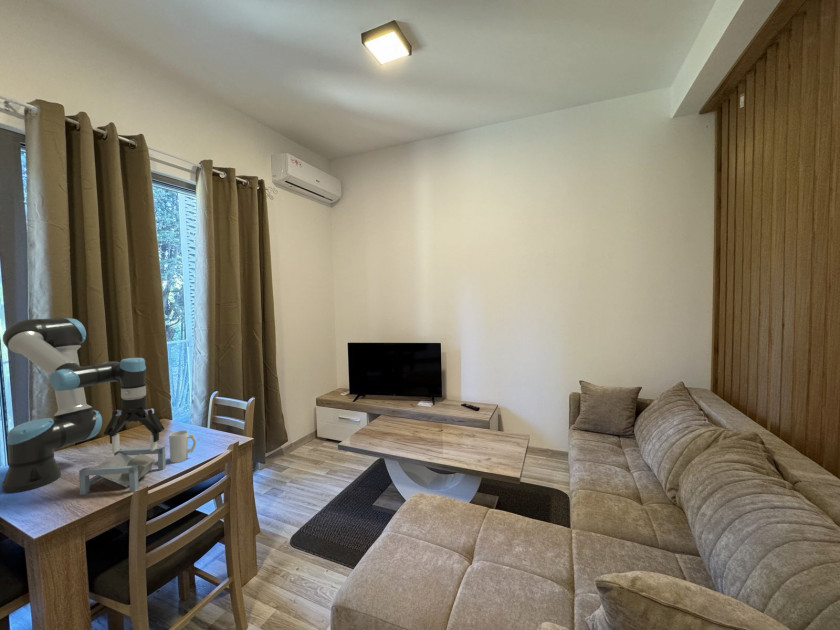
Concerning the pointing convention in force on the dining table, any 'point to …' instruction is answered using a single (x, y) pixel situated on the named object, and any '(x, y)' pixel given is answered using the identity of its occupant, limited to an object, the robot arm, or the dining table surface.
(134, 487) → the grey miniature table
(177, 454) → the mug
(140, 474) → the stone
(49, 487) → the dining table surface
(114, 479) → the trapdoor
